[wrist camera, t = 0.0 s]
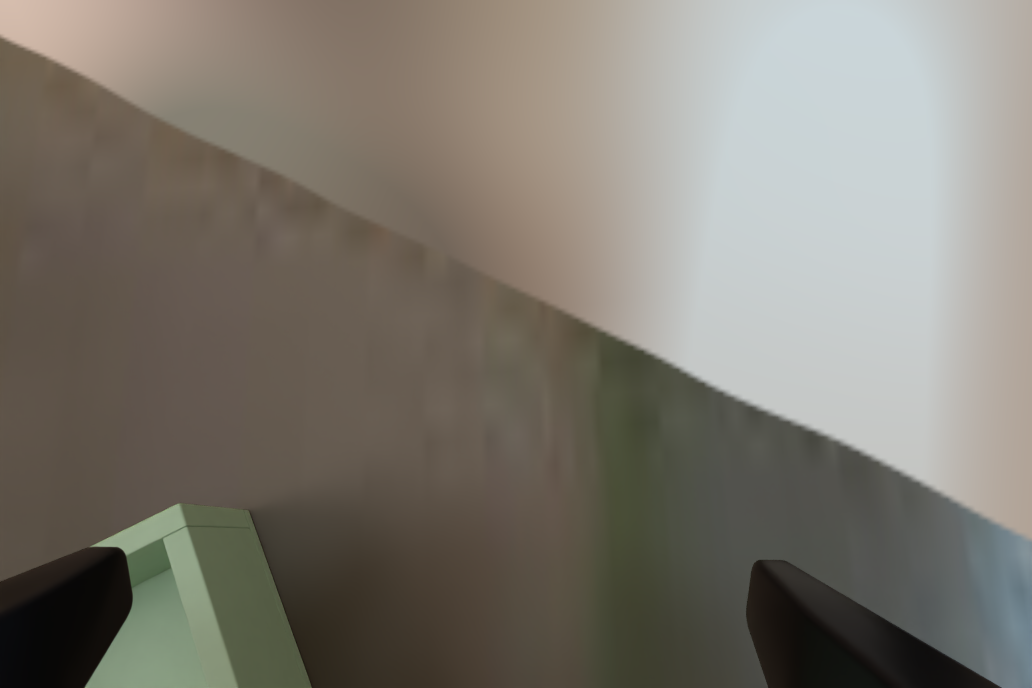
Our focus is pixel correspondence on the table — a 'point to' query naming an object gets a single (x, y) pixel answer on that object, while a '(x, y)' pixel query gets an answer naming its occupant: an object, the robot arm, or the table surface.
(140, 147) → the table surface
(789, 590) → the robot arm
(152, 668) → the mint green tray
